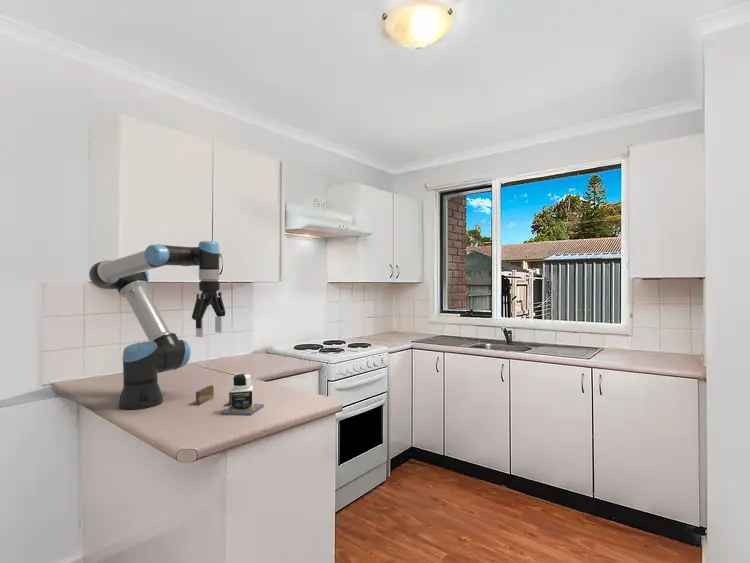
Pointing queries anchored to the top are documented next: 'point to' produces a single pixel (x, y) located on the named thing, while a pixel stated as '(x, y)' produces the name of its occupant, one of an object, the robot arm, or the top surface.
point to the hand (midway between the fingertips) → (209, 334)
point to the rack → (207, 395)
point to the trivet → (244, 412)
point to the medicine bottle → (242, 393)
